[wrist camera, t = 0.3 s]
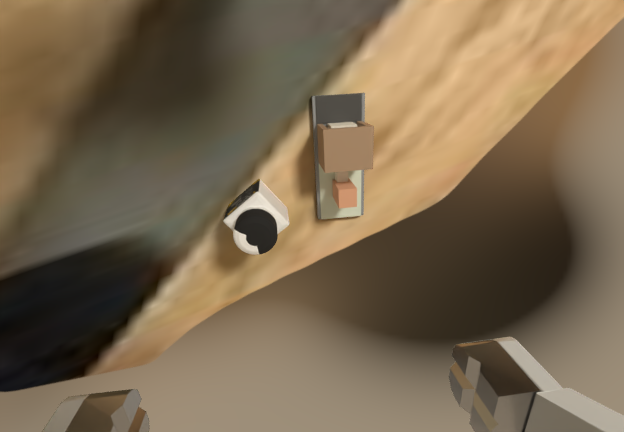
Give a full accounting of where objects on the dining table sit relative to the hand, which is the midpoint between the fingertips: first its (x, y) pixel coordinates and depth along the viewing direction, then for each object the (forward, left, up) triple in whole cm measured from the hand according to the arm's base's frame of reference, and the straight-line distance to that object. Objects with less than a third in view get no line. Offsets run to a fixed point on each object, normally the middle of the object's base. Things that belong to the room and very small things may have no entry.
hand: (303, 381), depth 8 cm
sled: (+5, +10, -44) cm, 46 cm away
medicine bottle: (+12, -4, -46) cm, 48 cm away
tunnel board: (+5, +10, -46) cm, 47 cm away
